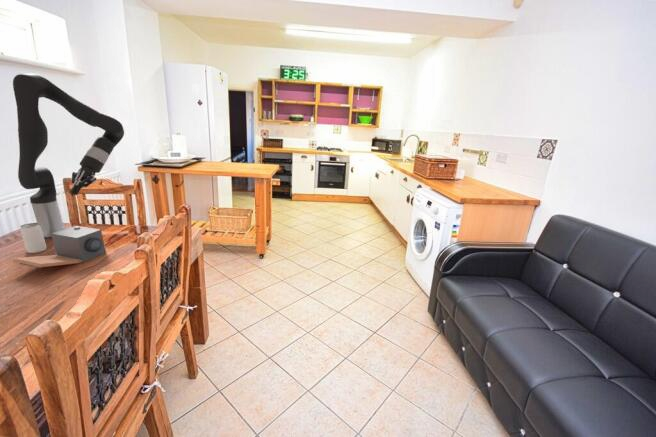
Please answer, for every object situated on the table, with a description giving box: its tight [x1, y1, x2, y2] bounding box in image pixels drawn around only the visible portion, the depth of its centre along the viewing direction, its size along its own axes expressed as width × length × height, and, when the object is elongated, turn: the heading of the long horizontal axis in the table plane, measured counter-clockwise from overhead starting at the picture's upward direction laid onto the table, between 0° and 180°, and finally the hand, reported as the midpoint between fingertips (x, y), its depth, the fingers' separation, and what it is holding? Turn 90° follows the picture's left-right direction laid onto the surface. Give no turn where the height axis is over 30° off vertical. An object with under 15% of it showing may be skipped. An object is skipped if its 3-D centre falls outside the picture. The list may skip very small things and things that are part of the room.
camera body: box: [51, 225, 107, 263], centre depth 127 cm, size 16×10×12 cm, turn 75°
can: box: [19, 222, 48, 254], centre depth 130 cm, size 6×6×12 cm
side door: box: [12, 254, 83, 269], centre depth 117 cm, size 14×2×15 cm
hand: (72, 194), depth 125 cm, fingers closed
